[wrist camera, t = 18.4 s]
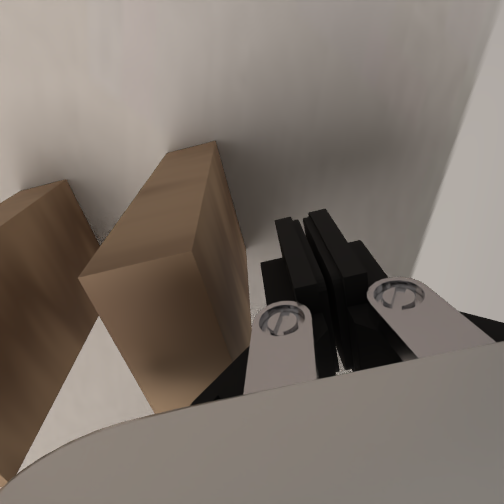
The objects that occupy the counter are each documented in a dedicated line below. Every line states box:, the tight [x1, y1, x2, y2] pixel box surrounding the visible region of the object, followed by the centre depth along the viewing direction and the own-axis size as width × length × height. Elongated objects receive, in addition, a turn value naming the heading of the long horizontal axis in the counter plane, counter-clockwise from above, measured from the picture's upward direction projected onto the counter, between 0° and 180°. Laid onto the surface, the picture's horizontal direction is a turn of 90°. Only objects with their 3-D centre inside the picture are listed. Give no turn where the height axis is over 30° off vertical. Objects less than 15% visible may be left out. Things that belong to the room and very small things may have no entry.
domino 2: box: [78, 141, 252, 414], centre depth 13 cm, size 6×2×11 cm, turn 13°
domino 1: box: [0, 179, 100, 487], centre depth 14 cm, size 6×2×11 cm, turn 13°
